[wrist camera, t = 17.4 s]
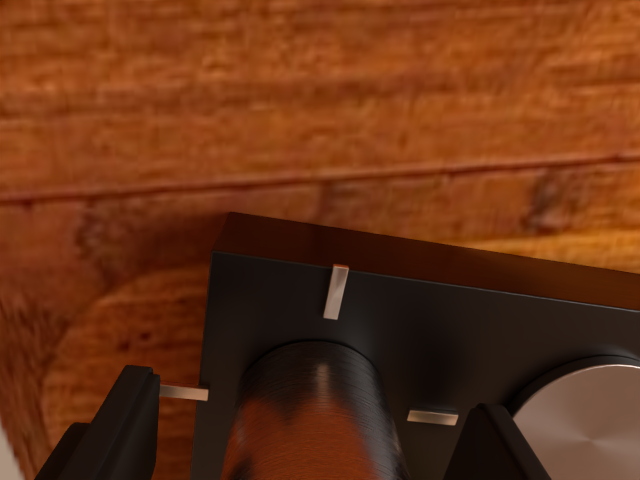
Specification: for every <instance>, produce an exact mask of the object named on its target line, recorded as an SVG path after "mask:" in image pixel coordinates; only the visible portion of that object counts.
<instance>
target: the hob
mask: <svg viewBox="0 0 640 480" xmlns="http://www.w3.org/2000/svg"><path fill="white" fill-rule="evenodd" d="M303 341H324V342H330V343H335V344H338V345H342V346H345V347H347V348H349V349H352V350H354V351H355V352H357V353H358V354H360V355H362V356H363V357H364V358H365V359H367V360H368V361H369V362H370V363H371V364H372V365H373V366H374V368H375V369H376V371H377V372H378V373H379V375H380V377H381V379H382V382H383V385H384V389H385V392H386V395H387V399H388V402H389V406H390V409H391V413H392V416H393V420H394V423H395V426H396V430H397V433H398V437H399V440H400V444H401V447H402V451H403V454H404V457H405V461H406V464H407V468H408V471H409V475H410V478H411V480H443V477H444V475H445V472H446V470H447V467H448V465H449V462H450V459H451V457H452V454H453V452H454V449H455V447H456V444H457V441H458V439H459V436H460V434H461V431H462V429H463V426H464V423H465V421H466V418H467V416H468V413H469V411H470V409H472V408H475V407H476V405H477V404H479V403H488V404H497V405H502V406H504V407H505V408H507V406H508V405H509V403H510V402H511V401H512V400H513V399H514V397H515V396H516V395H517V394H518V393H519V392H520V391H521V390H522V389H524V388H525V387H526V386H527V385H528V384H530V383H531V382H532V381H534V380H535V379H536V378H538V377H540V376H541V375H543V374H545V373H546V372H548V371H550V370H552V369H554V368H556V367H558V366H561V365H564V364H566V363H569V362H572V361H576V360H579V359H583V358H589V357H596V356H618V357H624V358H630V359H633V360H636V361H639V362H640V274H635V273H628V272H621V271H615V270H608V269H602V268H595V267H589V266H582V265H576V264H569V263H563V262H556V261H549V260H543V259H536V258H530V257H523V256H517V255H510V254H504V253H497V252H491V251H484V250H477V249H471V248H464V247H458V246H451V245H445V244H438V243H432V242H425V241H419V240H412V239H406V238H399V237H392V236H386V235H379V234H373V233H366V232H360V231H353V230H347V229H340V228H334V227H327V226H320V225H314V224H307V223H301V222H294V221H288V220H281V219H275V218H268V217H262V216H255V215H248V214H242V213H235V212H230V214H229V216H228V218H227V220H226V222H225V224H224V226H223V228H222V230H221V232H220V234H219V236H218V238H217V240H216V242H215V244H214V246H213V248H212V251H211V258H210V268H209V279H208V289H207V300H206V311H205V321H204V332H203V342H202V353H201V363H200V374H199V385H194V384H184V383H175V382H165V381H160V395H159V396H164V397H174V398H185V399H195V400H197V406H196V416H195V427H194V437H193V448H192V459H191V469H190V480H220V478H221V472H222V467H223V462H224V456H225V451H226V446H227V440H228V435H229V430H230V424H231V419H232V414H233V409H234V403H235V398H236V393H237V389H238V386H239V384H240V381H241V380H242V378H243V376H244V375H245V373H246V372H247V371H248V369H249V368H250V367H251V366H252V365H253V364H254V363H255V362H256V361H257V360H259V359H260V358H261V357H263V356H264V355H265V354H267V353H269V352H271V351H273V350H275V349H277V348H279V347H282V346H285V345H288V344H292V343H297V342H303Z"/></svg>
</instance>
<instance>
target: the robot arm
mask: <svg viewBox="0 0 640 480" xmlns="http://www.w3.org/2000/svg"><path fill="white" fill-rule="evenodd" d="M159 395H160V375H157V374H153V369H152V368H151V367H144V366H134V365H126V366H125V367H124V369H123V370H122V372H121V374H120V375H119V377H118V379H117V380H116V382H115V384H114V385H113V387H112V389H111V390H110V392H109V394H108V395H107V397H106V399H105V401H104V402H103V404H102V406H101V407H100V409H99V411H98V412H97V414H96V416H95V417H94V419H93V421H92V422H91V424H90V423H79V422H75V423H73V424H72V425H71V426H70V427H69V428H68V429H67V431H66V432H65V433H64V435H63V436H62V438H61V440H60V441H59V443H58V444H57V446H56V447H55V449H54V450H53V452H52V453H51V455H50V456H49V458H48V459H47V461H46V462H45V464H44V465H43V467H42V469H41V470H40V472H39V473H38V475H37V476H36V478H35V479H34V480H151V478H152V475H153V471H154V467H155V462H156V450H157V432H158V413H159ZM443 480H552V479H551V478H550V476H549V475H548V473H547V471H546V470H545V468H544V467H543V465H542V464H541V462H540V461H539V459H538V457H537V456H536V454H535V453H534V451H533V450H532V448H531V447H530V445H529V443H528V442H527V440H526V439H525V437H524V436H523V434H522V433H521V431H520V429H519V428H518V426H517V425H516V423H515V422H514V420H513V419H512V417H511V415H510V414H509V412H508V411H507V409H506V408H505V407H504V406H502V405H497V404H488V403H479V404H477V405H476V407H475V408H472V409H470V411H469V413H468V416H467V418H466V421H465V423H464V426H463V429H462V431H461V434H460V436H459V439H458V441H457V444H456V447H455V449H454V452H453V454H452V457H451V459H450V462H449V465H448V467H447V470H446V472H445V475H444V477H443Z"/></svg>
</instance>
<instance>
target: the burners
mask: <svg viewBox="0 0 640 480" xmlns="http://www.w3.org/2000/svg"><path fill="white" fill-rule="evenodd" d="M506 409H507V411H508V412H509V414H510V415H511V417H512V419H513V420H514V422H515V423H516V425H517V426H518V428H519V429H520V431H521V433H522V434H523V436H524V437H525V439H526V440H527V442H528V443H529V445H530V447H531V448H532V450H533V451H534V453H535V454H536V456H537V457H538V459H539V461H540V462H541V464H542V465H543V467H544V468H545V470H546V471H547V473H548V475H549V476H550V478H551V479H552V480H640V362H639V361H636V360H633V359H630V358H624V357H618V356H596V357H589V358H583V359H579V360H576V361H572V362H569V363H566V364H564V365H561V366H558V367H556V368H554V369H552V370H550V371H548V372H546V373H545V374H543V375H541V376H540V377H538V378H536V379H535V380H534V381H532V382H531V383H530V384H528V385H527V386H526V387H525V388H524V389H522V390H521V391H520V392H519V393H518V394H517V395H516V396H515V397H514V399H513V400H512V401H511V402H510V403H509V405H508V406H507V408H506Z"/></svg>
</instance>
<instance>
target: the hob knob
mask: <svg viewBox="0 0 640 480" xmlns="http://www.w3.org/2000/svg"><path fill="white" fill-rule="evenodd" d="M220 480H411V478H410V475H409V471H408V468H407V464H406V461H405V457H404V454H403V451H402V447H401V444H400V440H399V437H398V433H397V430H396V426H395V423H394V420H393V416H392V413H391V409H390V406H389V402H388V399H387V395H386V392H385V389H384V385H383V382H382V379H381V377H380V375H379V373H378V372H377V371H376V369H375V368H374V366H373V365H372V364H371V363H370V362H369V361H368V360H367V359H365V358H364V357H363V356H362V355H360V354H358V353H357V352H355V351H354V350H352V349H349V348H347V347H345V346H342V345H338V344H335V343H330V342H324V341H303V342H297V343H292V344H288V345H285V346H282V347H279V348H277V349H275V350H273V351H271V352H269V353H267V354H265V355H264V356H263V357H261V358H260V359H259V360H257V361H256V362H255V363H254V364H253V365H252V366H251V367H250V368H249V369H248V371H247V372H246V373H245V375H244V376H243V378H242V380H241V381H240V384H239V386H238V389H237V393H236V398H235V403H234V409H233V414H232V419H231V424H230V430H229V435H228V440H227V446H226V451H225V456H224V462H223V467H222V472H221V478H220Z"/></svg>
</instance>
